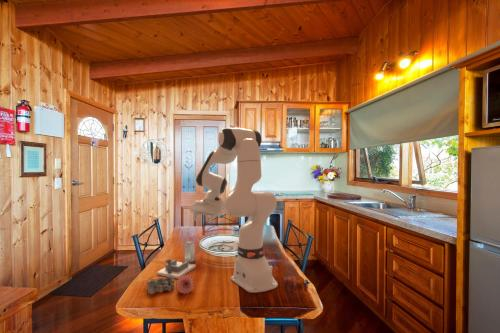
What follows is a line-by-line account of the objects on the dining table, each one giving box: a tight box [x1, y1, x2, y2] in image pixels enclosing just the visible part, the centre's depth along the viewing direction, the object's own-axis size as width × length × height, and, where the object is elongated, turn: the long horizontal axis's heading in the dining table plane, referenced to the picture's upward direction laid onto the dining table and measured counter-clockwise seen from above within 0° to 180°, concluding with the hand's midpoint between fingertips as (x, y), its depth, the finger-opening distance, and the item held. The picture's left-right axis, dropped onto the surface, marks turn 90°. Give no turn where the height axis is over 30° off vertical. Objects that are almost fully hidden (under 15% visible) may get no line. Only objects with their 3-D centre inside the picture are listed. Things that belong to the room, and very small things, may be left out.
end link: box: [184, 240, 195, 264], centre depth 139 cm, size 4×4×10 cm
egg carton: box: [146, 276, 176, 295], centre depth 109 cm, size 11×8×4 cm
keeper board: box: [156, 258, 197, 279], centre depth 126 cm, size 15×12×8 cm
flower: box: [175, 273, 195, 295], centre depth 107 cm, size 8×8×6 cm
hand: (201, 220), depth 151 cm, fingers open, 8 cm apart
